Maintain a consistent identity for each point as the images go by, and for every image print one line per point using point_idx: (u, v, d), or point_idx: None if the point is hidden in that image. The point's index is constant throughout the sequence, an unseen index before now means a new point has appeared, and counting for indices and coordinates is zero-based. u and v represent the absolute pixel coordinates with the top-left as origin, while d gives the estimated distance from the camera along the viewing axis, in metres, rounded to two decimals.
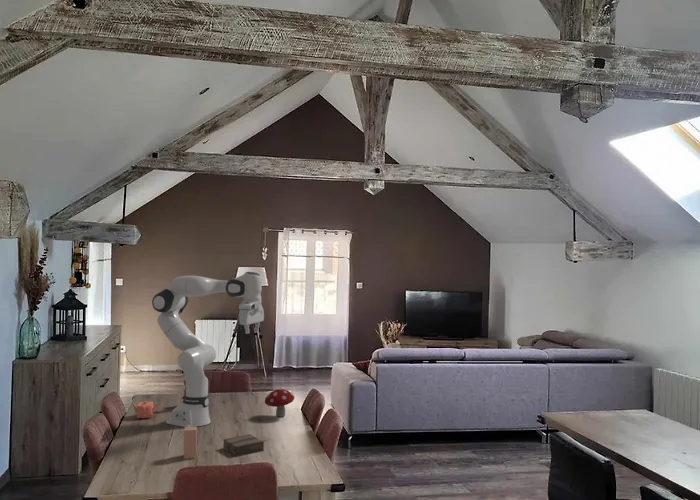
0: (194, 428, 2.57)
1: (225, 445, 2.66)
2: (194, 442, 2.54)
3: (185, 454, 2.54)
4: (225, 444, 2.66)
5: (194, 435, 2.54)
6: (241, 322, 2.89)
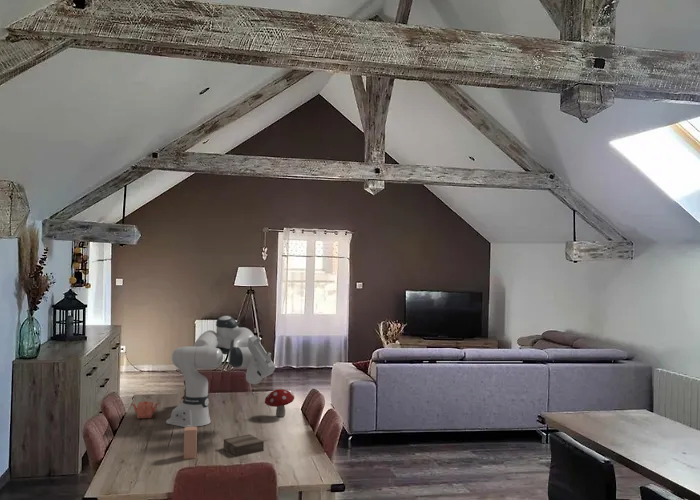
0: (194, 428, 2.57)
1: (225, 445, 2.66)
2: (194, 442, 2.54)
3: (185, 454, 2.54)
4: (225, 444, 2.66)
5: (194, 435, 2.54)
6: (273, 368, 2.84)
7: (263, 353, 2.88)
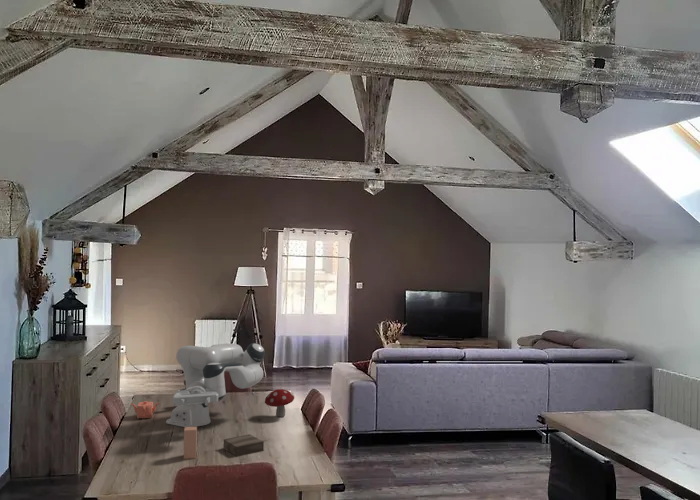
0: (194, 428, 2.57)
1: (225, 445, 2.66)
2: (194, 442, 2.54)
3: (185, 454, 2.54)
4: (225, 444, 2.66)
5: (194, 435, 2.54)
6: (173, 402, 2.72)
7: (193, 400, 2.74)
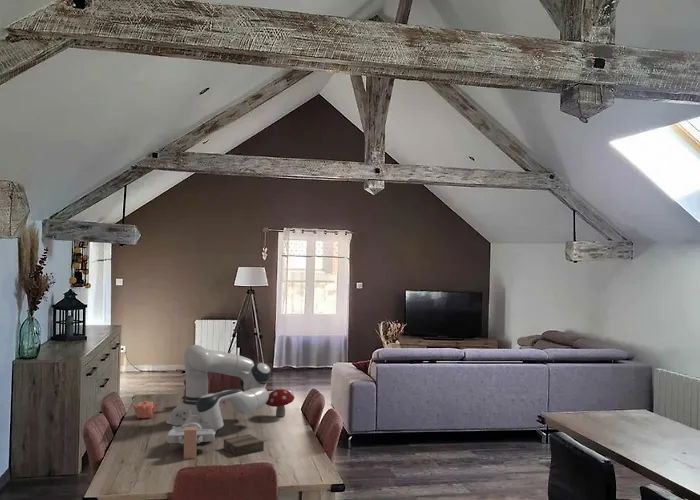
0: (194, 428, 2.57)
1: (225, 445, 2.66)
2: (194, 442, 2.54)
3: (185, 454, 2.54)
4: (225, 444, 2.66)
5: (194, 435, 2.54)
6: (167, 440, 2.59)
7: None
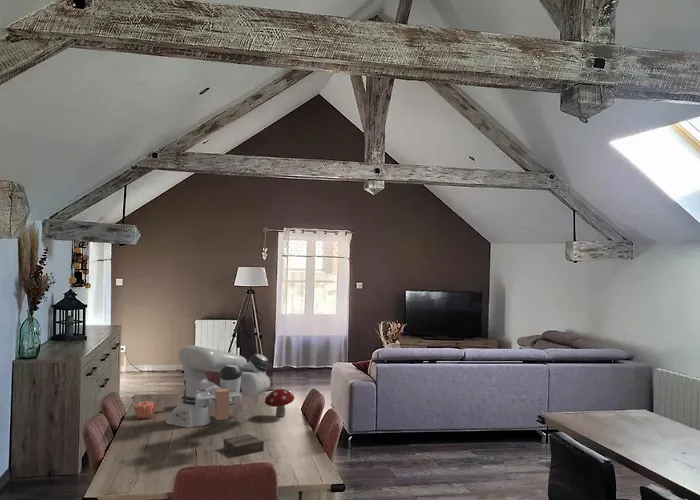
0: (225, 390, 2.61)
1: (225, 445, 2.66)
2: (227, 403, 2.59)
3: (218, 415, 2.58)
4: (225, 444, 2.66)
5: (227, 396, 2.59)
6: (196, 403, 2.61)
7: None
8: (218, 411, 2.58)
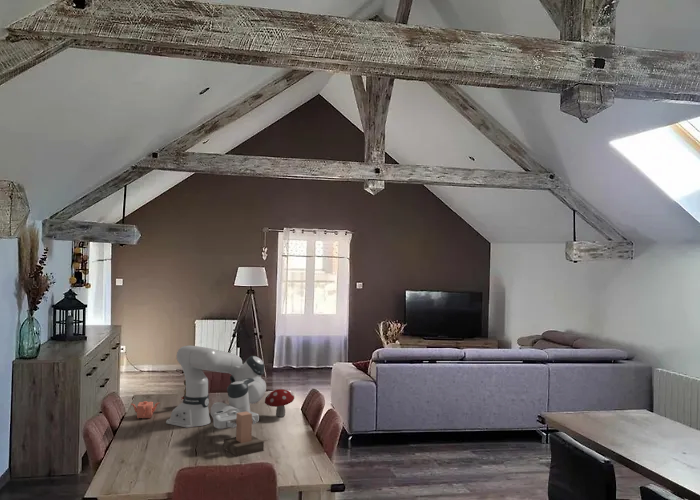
0: (247, 413, 2.67)
1: (225, 445, 2.66)
2: (250, 426, 2.66)
3: (242, 438, 2.63)
4: (225, 444, 2.66)
5: (250, 419, 2.66)
6: (218, 426, 2.64)
7: None
8: (242, 434, 2.63)
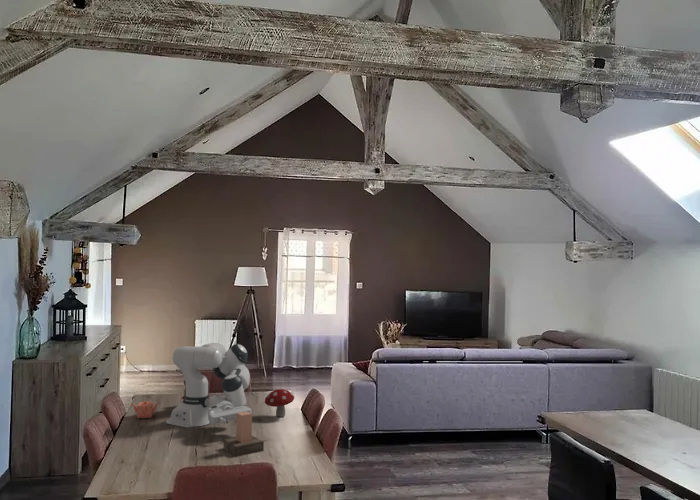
0: (247, 413, 2.67)
1: (225, 445, 2.66)
2: (250, 426, 2.66)
3: (242, 438, 2.63)
4: (225, 444, 2.66)
5: (250, 419, 2.66)
6: (211, 421, 2.78)
7: (230, 417, 2.82)
8: (242, 434, 2.63)
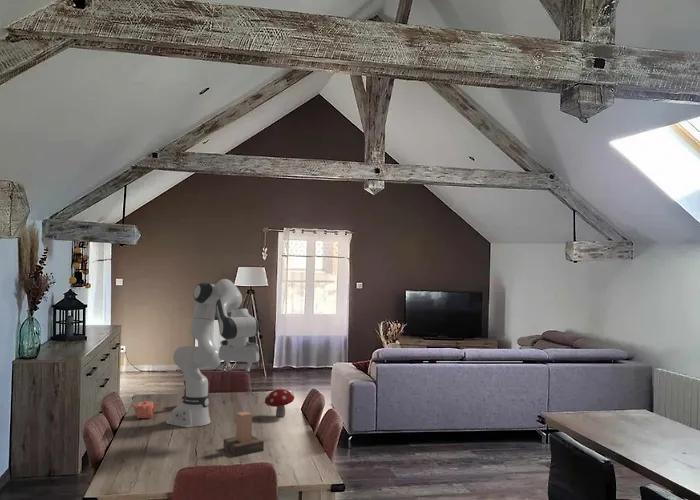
0: (247, 413, 2.67)
1: (225, 445, 2.66)
2: (250, 426, 2.66)
3: (242, 438, 2.63)
4: (225, 444, 2.66)
5: (250, 419, 2.66)
6: None
7: None
8: (242, 434, 2.63)
